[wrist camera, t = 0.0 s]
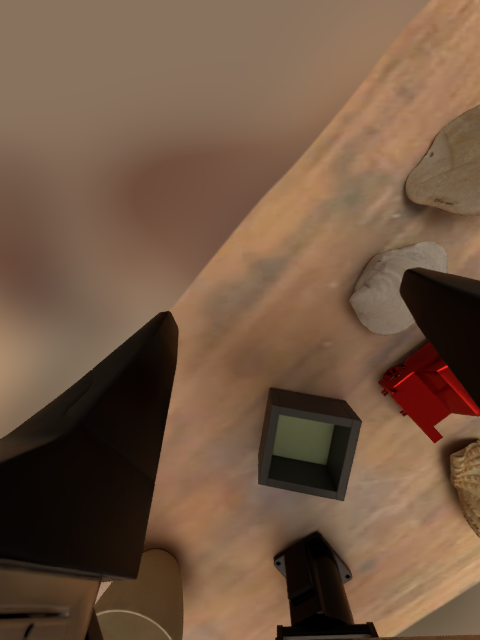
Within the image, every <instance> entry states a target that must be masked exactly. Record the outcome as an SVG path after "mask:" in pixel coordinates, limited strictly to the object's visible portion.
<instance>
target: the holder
mask: <svg viewBox="0 0 480 640" xmlns="http://www.w3.org/2000/svg"><path fill="white" fill-rule="evenodd" d="M361 423H362V421H361V419H360V418H359V417H358V416H357V414H356V413H355V412H354V411H353V409H352V408H351V407H350V406H349V405H348V403H347V402H346V401H345V400H339V399H333V398H327V397H321V396H316V395H310V394H304V393H298V392H292V391H287V390H281V389H275V388H270V390H269V395H268V401H267V407H266V413H265V419H264V425H263V431H262V437H261V443H260V448H259V454H258V484H260V485H265V486H266V485H267V486H270V487H275V488H280V489H285V490H290V491H295V492H300V493H305V494H310V495H315V496H320V497H325V498H330V499H336V500H340V501H344V498H345V494H346V489H347V485H348V481H349V476H350V472H351V467H352V463H353V459H354V454H355V450H356V445H357V441H358V436H359V432H360V428H361Z"/></svg>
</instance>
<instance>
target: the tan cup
mask: <svg viewBox="0 0 480 640" xmlns="http://www.w3.org/2000/svg"><path fill="white" fill-rule="evenodd" d="M94 608H95V612H96V615H97V619H98V622H99V625H100V629H101V632H102V635H103V639H104V640H182V636H183V592H182V583H181V577H180V571H179V567H178V564H177V562H176V560H175V558H174V557H173V556H172V555H171V554H170V553H168V552H166V551H164V550H160V549H151V550H148V551H146V552H144V553H143V554H142V557H141V563H140V568H139V573H138V577H137V579H136V580H125V581H113V582H112V583H111V585H110V586H109V587H108V588H107V590H106V591H105V592H104V593H103V595H102V596H101V597H100V599H99V600H98V602H97V603H96V604H95V606H94Z"/></svg>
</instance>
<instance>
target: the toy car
mask: <svg viewBox="0 0 480 640" xmlns="http://www.w3.org/2000/svg"><path fill="white" fill-rule="evenodd" d="M403 364H404V365H405V368H404V367H403V366H394V367H392V368H390V369H388V370H387V371H386V372H385V373H384V376H383V379H384V380H385V381H384V380H380V381H379V382H378V383H379V385H380V386H381V387H382V388H383V389H384V390H383V391H382V392H381V393H382V394H383V393H384V392H385V393H384V394H383V395H384V396H386V395H387V394H389V395H390V396H391V397H392V399H393V400H394V401H395V402H396V403H397V404H398V405H399V406H400V407H401V408H402V409H403V410H402V411H401V412H400V413H401V414H402V415H403V416H405V415H408V416H409V417H410V418H411V419H412V420H413V421H414V422H415V423H416V424H417V425H418V426H419V427H420V428H421V430H422V431H423V432H424V433H425V434H426V435H427V436H428V437H429V438H430V439H431V440H432V441H433V442H434V443H436V442H437V441H438V440H440V439H441V438H443V436H442V435H441V434H440V433H439V432H438V431H437V430H436V429H435V428H434V427H433V426H435V425H436V424H437V423H439V422H440V421H442V420H443V419H444V418H446V417H447V416H448V415H450V414H451V413H454V414H462V415H471V416H480V409H479V408H478V406H477V405H476V404H475V402H474V401H473V400H472V398H471V397H470V396H469V394H468V393H467V392H466V390H465V389H464V388H463V386H462V385H461V383H460V382H459V381H458V379H457V378H456V377H455V375H454V374H453V373H452V371H451V370H450V369H449V367H448V366H447V365H446V363H445V362H444V361H443V359H442V358H441V357H440V355H439V354H438V353H437V351H436V350H435V349H434V347H433V346H432V344H431V343H430V342H428V343H427V344H425V345H424V346H423V347H422V348H420V349H419V350H418V351H417V352H415V353H414V354H413V355H411V356H410V357H409V358H408V359H406V360H405V361H404V362H403ZM398 375H399V376H398ZM397 376H398V377H397ZM392 377H393V378H392ZM391 378H392V379H391ZM404 412H405V413H404Z"/></svg>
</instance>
